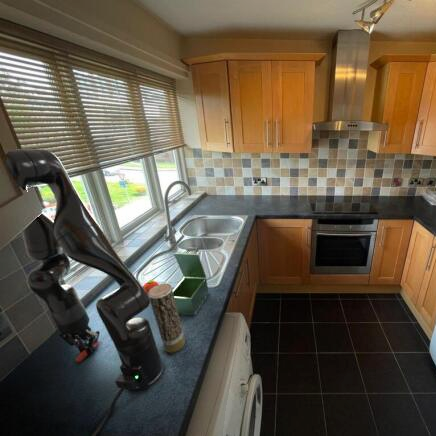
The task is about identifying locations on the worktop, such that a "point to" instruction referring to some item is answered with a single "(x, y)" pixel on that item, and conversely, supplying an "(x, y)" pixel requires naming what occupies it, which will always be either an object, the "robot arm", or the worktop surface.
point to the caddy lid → (190, 263)
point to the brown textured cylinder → (167, 317)
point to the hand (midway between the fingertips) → (88, 352)
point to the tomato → (149, 285)
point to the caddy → (190, 295)
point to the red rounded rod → (84, 354)
